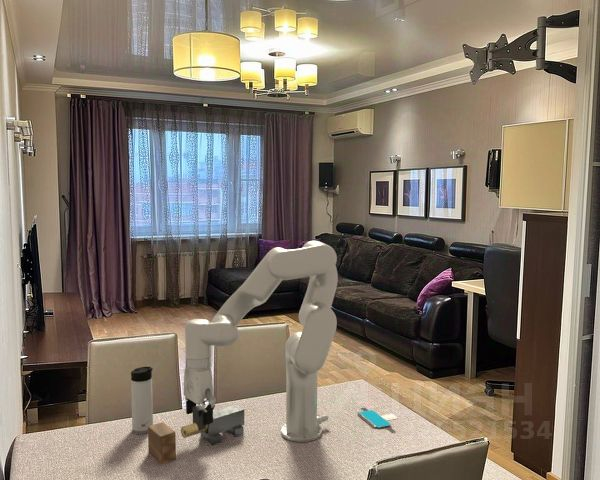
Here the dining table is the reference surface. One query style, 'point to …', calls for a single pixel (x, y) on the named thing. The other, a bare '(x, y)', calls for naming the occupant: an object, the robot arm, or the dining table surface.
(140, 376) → the travel mug
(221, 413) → the metal sleeve
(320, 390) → the dining table surface
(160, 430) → the walnut socket
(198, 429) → the brass rod
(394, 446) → the dining table surface
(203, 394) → the robot arm
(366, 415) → the cyan and grey device
